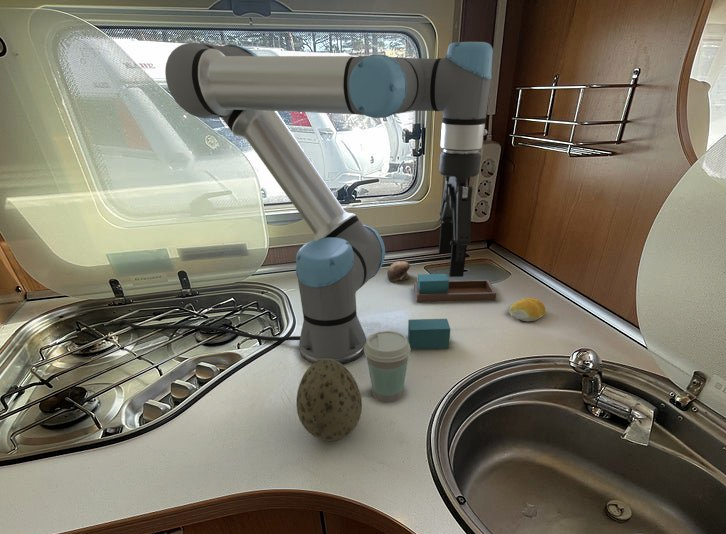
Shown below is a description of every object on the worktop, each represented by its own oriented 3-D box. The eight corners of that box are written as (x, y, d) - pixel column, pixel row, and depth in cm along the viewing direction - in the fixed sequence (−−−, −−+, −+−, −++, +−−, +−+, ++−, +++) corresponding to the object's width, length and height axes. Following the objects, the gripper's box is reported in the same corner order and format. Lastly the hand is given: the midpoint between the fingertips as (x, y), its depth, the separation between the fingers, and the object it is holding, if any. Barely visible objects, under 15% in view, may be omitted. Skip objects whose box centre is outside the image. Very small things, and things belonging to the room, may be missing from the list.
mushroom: (420, 268, 128) (408, 252, 125) (408, 286, 124) (395, 270, 121) (403, 274, 134) (391, 259, 131) (391, 292, 131) (378, 276, 128)
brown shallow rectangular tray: (416, 303, 116) (417, 295, 114) (413, 289, 123) (414, 281, 122) (495, 301, 116) (496, 293, 114) (487, 287, 124) (488, 279, 122)
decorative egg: (369, 416, 77) (366, 346, 69) (355, 459, 69) (349, 385, 60) (313, 410, 79) (303, 341, 70) (292, 451, 71) (278, 378, 62)
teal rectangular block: (409, 349, 96) (410, 329, 93) (408, 338, 100) (408, 319, 97) (448, 348, 96) (450, 328, 94) (445, 337, 100) (447, 318, 98)
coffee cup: (380, 376, 88) (379, 325, 81) (417, 388, 84) (419, 336, 77) (357, 398, 82) (354, 345, 75) (395, 412, 78) (396, 358, 71)
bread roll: (549, 313, 110) (552, 299, 107) (532, 325, 105) (535, 310, 102) (520, 304, 114) (523, 290, 112) (503, 315, 109) (505, 301, 107)
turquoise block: (418, 298, 117) (419, 281, 114) (417, 291, 121) (417, 274, 118) (447, 297, 117) (449, 280, 114) (445, 290, 121) (446, 273, 118)
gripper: (499, 162, 67) (481, 287, 80) (467, 141, 87) (456, 244, 100) (453, 162, 67) (441, 288, 80) (431, 141, 87) (425, 244, 100)
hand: (450, 263), depth 90 cm, fingers open, 13 cm apart
